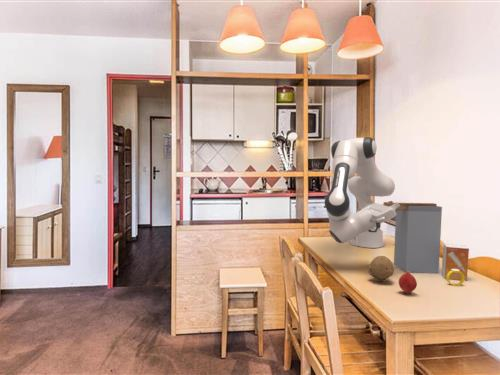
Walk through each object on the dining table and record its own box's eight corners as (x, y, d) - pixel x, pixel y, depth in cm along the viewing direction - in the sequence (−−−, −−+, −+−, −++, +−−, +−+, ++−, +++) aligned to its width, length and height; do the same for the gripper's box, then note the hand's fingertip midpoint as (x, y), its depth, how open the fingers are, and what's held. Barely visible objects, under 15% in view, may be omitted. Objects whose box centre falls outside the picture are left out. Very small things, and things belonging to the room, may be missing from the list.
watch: (449, 286, 138) (448, 271, 138) (445, 284, 141) (445, 268, 141) (465, 286, 138) (465, 270, 138) (461, 283, 141) (461, 268, 140)
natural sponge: (398, 285, 138) (399, 258, 137) (376, 286, 136) (377, 259, 136) (385, 277, 147) (386, 253, 146) (365, 278, 145) (365, 253, 145)
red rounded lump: (395, 290, 131) (396, 268, 131) (410, 290, 132) (411, 268, 131) (403, 296, 126) (404, 273, 125) (419, 296, 126) (420, 273, 126)
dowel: (384, 209, 157) (384, 202, 157) (432, 210, 158) (432, 203, 157) (386, 210, 154) (387, 203, 154) (436, 211, 155) (436, 204, 154)
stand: (393, 265, 166) (396, 203, 164) (424, 265, 166) (427, 203, 165) (405, 272, 154) (408, 206, 152) (438, 273, 154) (441, 206, 153)
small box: (444, 278, 147) (446, 246, 146) (441, 274, 153) (443, 243, 152) (467, 281, 144) (469, 248, 144) (463, 276, 150) (465, 245, 150)
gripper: (372, 215, 145) (402, 198, 145) (355, 209, 165) (382, 194, 165) (379, 229, 145) (410, 212, 145) (362, 221, 166) (389, 206, 166)
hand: (395, 203), depth 155 cm, fingers open, 5 cm apart
